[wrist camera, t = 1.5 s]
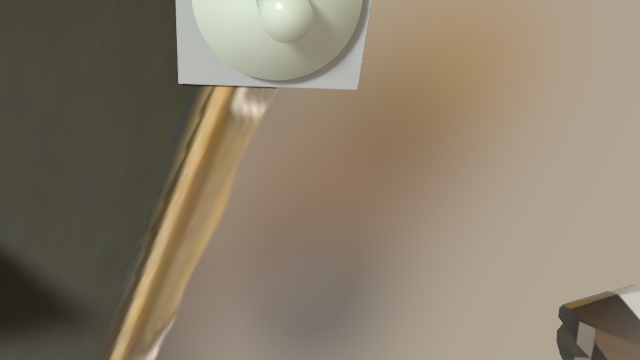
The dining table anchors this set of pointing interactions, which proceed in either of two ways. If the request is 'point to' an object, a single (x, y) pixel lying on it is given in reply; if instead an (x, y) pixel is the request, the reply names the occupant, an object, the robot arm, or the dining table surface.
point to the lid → (277, 33)
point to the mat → (211, 70)
